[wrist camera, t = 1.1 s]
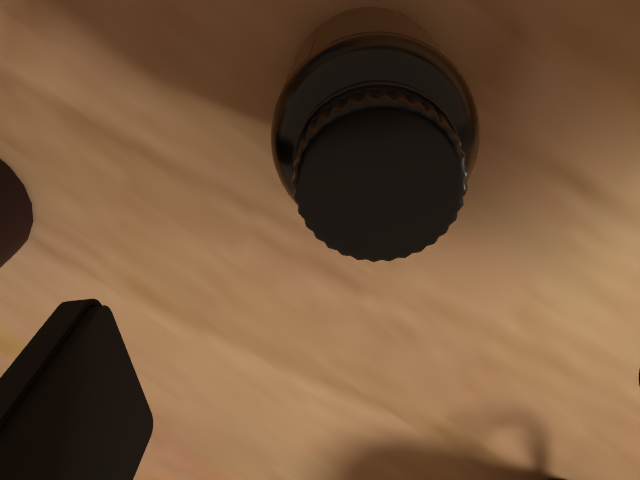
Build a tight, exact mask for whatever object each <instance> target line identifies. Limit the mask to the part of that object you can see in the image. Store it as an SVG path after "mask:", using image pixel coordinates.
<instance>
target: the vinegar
mask: <svg viewBox="0 0 640 480" xmlns="http://www.w3.org/2000/svg"><path fill="white" fill-rule="evenodd" d="M32 224H33V214H32V203H31V201H30V199H29V196H28V194H27V191H26V189H25V187H24V185H23V183H22V182H21V181H20V179H19V178H18V177H17V176H16V174H15V173H14V172H13V171H12V169H11V168H10V167H9V166H8V165H6V164H5V163H4V162H3V161H1V160H0V267H2V266H3V265H4V264H5V263H6V262H7V261H8V260H9V259H10V258H11V257H12V256H13V255H14V254H15V253H16V252H17V251H18V250H19V249H20V248H21V247H22V246H23V244H24V243H25V242H26V241H27V240H28V237H29V234H30V230H31V227H32Z"/></svg>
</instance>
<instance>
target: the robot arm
mask: <svg viewBox="0 0 640 480" xmlns="http://www.w3.org/2000/svg"><path fill="white" fill-rule="evenodd" d="M639 385H640V370H639ZM152 430H153V417H152V413H151V411H150V408H149V405H148V403H147V400H146V398H145V395H144V393H143V390H142V388H141V385H140V383H139V380H138V377H137V375H136V372H135V370H134V367H133V365H132V362H131V360H130V357H129V355H128V352H127V349H126V347H125V344H124V342H123V339H122V337H121V334H120V332H119V329H118V327H117V324H116V321H115V319H114V316H113V314H112V312H111V310H110V308H109V307H108V306H105V305H104V306H102V305H101V303H100V302H99V301H98V300H96V299H86V300H76V301H67V302H62V303H61V304H60V305H59V306H58V307H57V308H56V310H55V311H54V312H53V313H52V315H51V316H50V317H49V318H48V320H47V321H46V322H45V323H44V325H43V326H42V327H41V328H40V329H39V331H38V332H37V333H36V334H35V336H34V337H33V338H32V339H31V341H30V342H29V343H28V344H27V346H26V347H25V348H24V349H23V351H22V352H21V353H20V354H19V356H18V357H17V358H16V359H15V361H14V362H13V363H12V364H11V366H10V367H9V368H8V369H7V370H6V372H5V373H4V374H3V375H2V377H1V378H0V480H133V478H134V476H135V473H136V471H137V468H138V466H139V464H140V461H141V459H142V456H143V454H144V452H145V449H146V447H147V444H148V442H149V440H150V437H151V434H152Z"/></svg>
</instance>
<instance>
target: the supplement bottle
mask: <svg viewBox="0 0 640 480" xmlns="http://www.w3.org/2000/svg"><path fill="white" fill-rule="evenodd" d="M479 129H480V128H479V118H478V113H477V108H476V105H475V102H474V99H473V96H472V94H471V92H470V90H469V87H468V86H467V84H466V82H465V80H464V79H463V77H462V75H461V74H460V73H459V71H458V70H457V69H456V67H455V66H454V65H453V63H452V62H451V61H450V60H449V59H448V57H447V56H446V55H445V54H444V53H443V51H442V50H441V49H440V48H439V46H438V45H437V44H436V43H435V42H434V40H433V39H432V38H431V37H430V36H429V35H428V34H427V32H426V31H425V30H424V29H423V28H421V27H420V26H419V25H418V24H417V23H415V22H414V21H413V20H411V19H410V18H408V17H406V16H404V15H402V14H400V13H397V12H395V11H391V10H388V9H383V8H374V7H367V8H357V9H353V10H348V11H346V12H343V13H340V14H338V15H336V16H334V17H332V18H330V19H329V20H327V21H326V22H324V23H323V24H322V25H320V26H319V27H318V28H317V29H316V30H315V31H314V32H313V33H312V34H311V35H310V36H309V37H308V39H307V40H306V41H305V43H304V44H303V46H302V48H301V49H300V51H299V53H298V55H297V57H296V59H295V61H294V64H293V66H292V68H291V71H290V73H289V75H288V78H287V80H286V82H285V84H284V87H283V89H282V91H281V94H280V96H279V99H278V102H277V105H276V108H275V112H274V116H273V122H272V129H271V147H272V155H273V160H274V164H275V167H276V170H277V173H278V175H279V178H280V180H281V182H282V184H283V186H284V188H285V189H286V191H287V192H288V194H289V195H290V197H291V198H292V199H293V200H294V202H295V203H296V204H297V205H298V213H299V214H300V215H301V216H302V217H303V218H304V219H305V224H306V227H308V228H309V229H310V230H312V231H313V232H314V234H315V237H316V238H317V239H319V240H321V241H323V242H325V243H326V245H327V246H328V248H331V249H334V250H337V251H339V253H341V254H342V255H345V256H352V257H353V258H355V259H357V260H363V259H367V260H369V261H372V262H375V261H379V260H385V261H391V260H394V259H396V258H406V257H407V256H409V255H410V254H412V253H417V252H421V251H422V250H423V249H424V248H425V247H426V246H428V245H432V244H434V243H435V242H436V241H437V239H438V237H439V236H441V235H443V234H445V233H446V232H447V230H448V227H449V225H450V224H452V223H453V222H454V221H455V220H456V218H457V212H458V211H459V210H460V209H461V207H462V206H463V196H464V195H465V193H466V191H467V184H466V182H467V180H468V178H469V177H470V174H471V172H472V170H473V167H474V164H475V161H476V157H477V152H478V147H479Z"/></svg>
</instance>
